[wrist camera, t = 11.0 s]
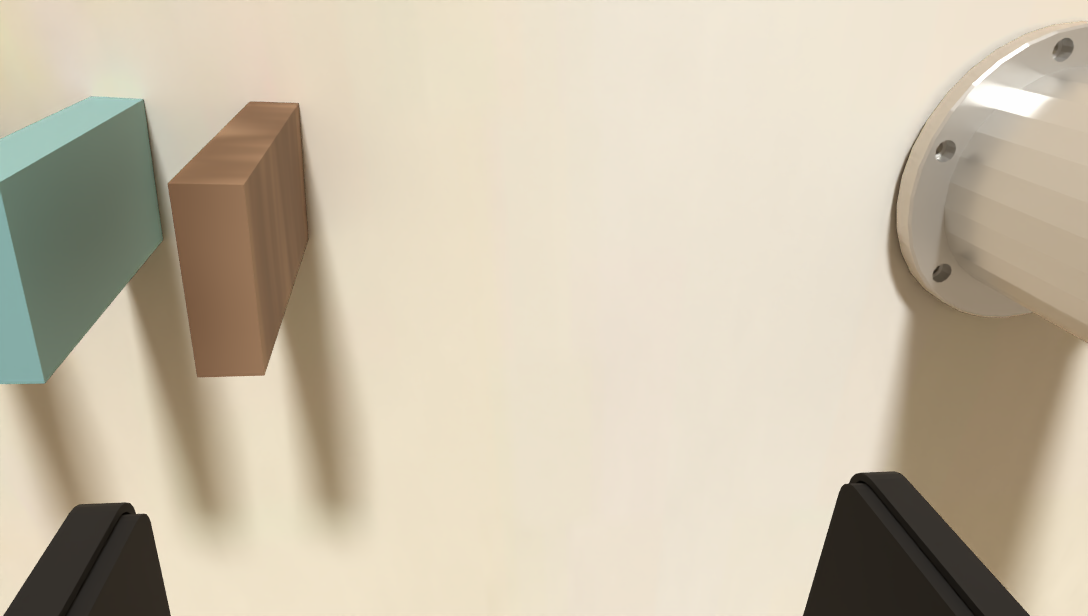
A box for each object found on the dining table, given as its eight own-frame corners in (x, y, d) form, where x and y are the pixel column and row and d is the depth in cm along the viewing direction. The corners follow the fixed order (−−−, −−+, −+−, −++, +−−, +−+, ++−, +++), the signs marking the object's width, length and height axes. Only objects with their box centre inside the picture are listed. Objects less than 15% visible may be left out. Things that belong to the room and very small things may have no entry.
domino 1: (143, 99, 25) (-2, 182, 16) (162, 240, 27) (44, 383, 18) (90, 96, 24) (-87, 180, 15) (115, 238, 26) (-30, 384, 18)
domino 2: (298, 103, 26) (243, 184, 17) (308, 239, 28) (264, 375, 19) (249, 101, 25) (167, 183, 16) (263, 239, 27) (197, 377, 18)
